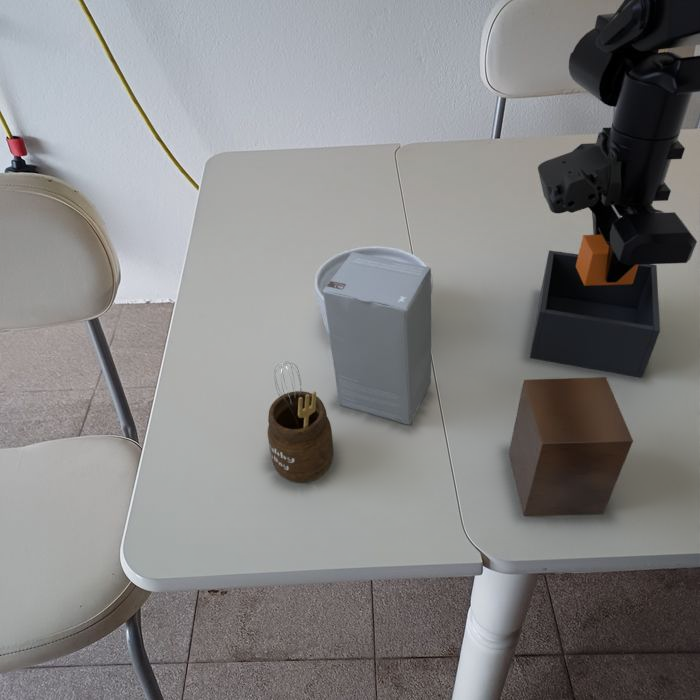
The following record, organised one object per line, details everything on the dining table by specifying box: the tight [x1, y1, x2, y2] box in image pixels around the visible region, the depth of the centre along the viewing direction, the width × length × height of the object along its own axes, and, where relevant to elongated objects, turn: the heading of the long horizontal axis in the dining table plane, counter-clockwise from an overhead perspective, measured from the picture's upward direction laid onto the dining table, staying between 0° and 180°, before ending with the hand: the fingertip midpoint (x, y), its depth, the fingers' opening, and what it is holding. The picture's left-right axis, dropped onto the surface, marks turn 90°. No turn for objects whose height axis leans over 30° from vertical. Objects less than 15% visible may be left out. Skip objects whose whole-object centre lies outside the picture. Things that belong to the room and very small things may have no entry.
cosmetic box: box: [323, 252, 432, 425], centre depth 62 cm, size 8×7×16 cm
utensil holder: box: [267, 361, 334, 483], centre depth 58 cm, size 6×6×12 cm
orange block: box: [576, 234, 638, 286], centre depth 67 cm, size 5×4×4 cm
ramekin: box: [313, 245, 433, 334], centre depth 74 cm, size 13×13×7 cm
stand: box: [508, 376, 634, 517], centre depth 56 cm, size 7×7×10 cm
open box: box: [529, 250, 661, 378], centre depth 72 cm, size 12×12×7 cm
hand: (605, 270), depth 68 cm, fingers closed on orange block, 3 cm apart
